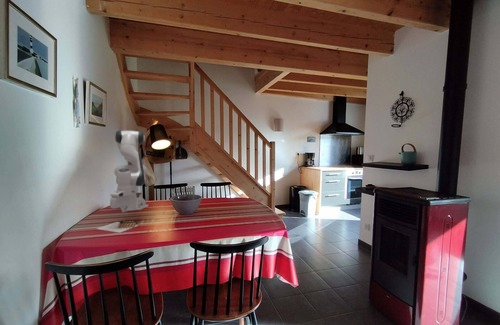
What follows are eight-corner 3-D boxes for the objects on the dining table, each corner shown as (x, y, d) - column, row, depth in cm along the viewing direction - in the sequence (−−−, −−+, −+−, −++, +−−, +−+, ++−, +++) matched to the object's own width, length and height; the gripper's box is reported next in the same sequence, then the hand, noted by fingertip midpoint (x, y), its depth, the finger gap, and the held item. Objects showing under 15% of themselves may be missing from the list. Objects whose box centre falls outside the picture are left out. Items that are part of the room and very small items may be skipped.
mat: (116, 222, 173) (116, 221, 173) (138, 225, 167) (138, 225, 167) (96, 229, 158) (96, 228, 158) (119, 232, 151) (119, 232, 151)
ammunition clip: (121, 223, 169) (116, 229, 158) (121, 220, 169) (116, 226, 157) (137, 222, 172) (133, 228, 160) (137, 219, 172) (133, 225, 160)
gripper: (132, 189, 177) (132, 208, 177) (108, 194, 157) (108, 215, 158) (139, 190, 175) (139, 209, 175) (115, 195, 155) (115, 216, 156)
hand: (124, 211), depth 167 cm, fingers closed
